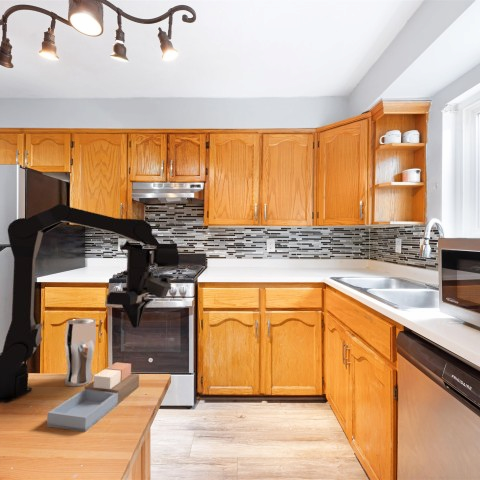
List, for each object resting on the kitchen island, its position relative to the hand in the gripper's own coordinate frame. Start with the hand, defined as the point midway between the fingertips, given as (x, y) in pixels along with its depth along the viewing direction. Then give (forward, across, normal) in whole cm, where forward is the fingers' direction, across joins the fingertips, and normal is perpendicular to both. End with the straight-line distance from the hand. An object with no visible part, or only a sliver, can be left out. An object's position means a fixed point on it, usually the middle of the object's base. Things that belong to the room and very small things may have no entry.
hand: (136, 327), depth 81 cm
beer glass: (+13, -6, +12) cm, 19 cm away
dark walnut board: (+13, -10, 0) cm, 16 cm away
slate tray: (+13, -19, 0) cm, 23 cm away
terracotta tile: (+10, -7, 0) cm, 12 cm away
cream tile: (+10, -12, 0) cm, 16 cm away
